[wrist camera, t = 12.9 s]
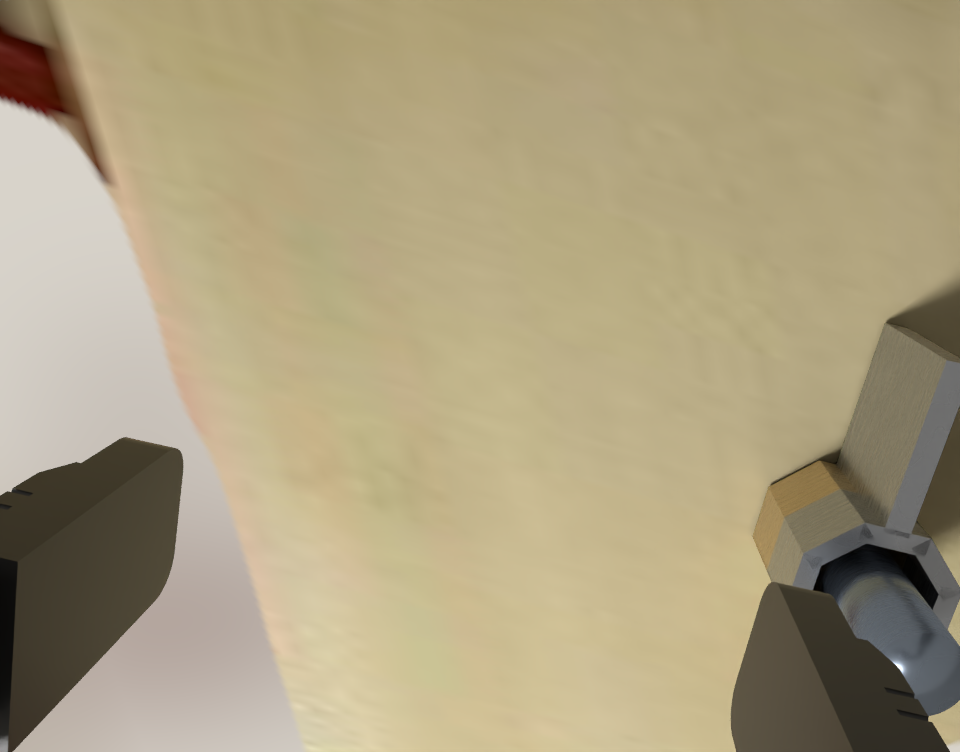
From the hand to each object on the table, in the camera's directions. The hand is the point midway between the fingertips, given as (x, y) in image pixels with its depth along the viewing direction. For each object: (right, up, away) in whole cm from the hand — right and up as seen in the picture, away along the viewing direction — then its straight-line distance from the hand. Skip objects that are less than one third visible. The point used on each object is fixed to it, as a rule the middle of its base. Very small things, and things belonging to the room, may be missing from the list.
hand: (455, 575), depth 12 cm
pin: (+17, -4, +30) cm, 34 cm away
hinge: (+16, -4, +30) cm, 34 cm away
